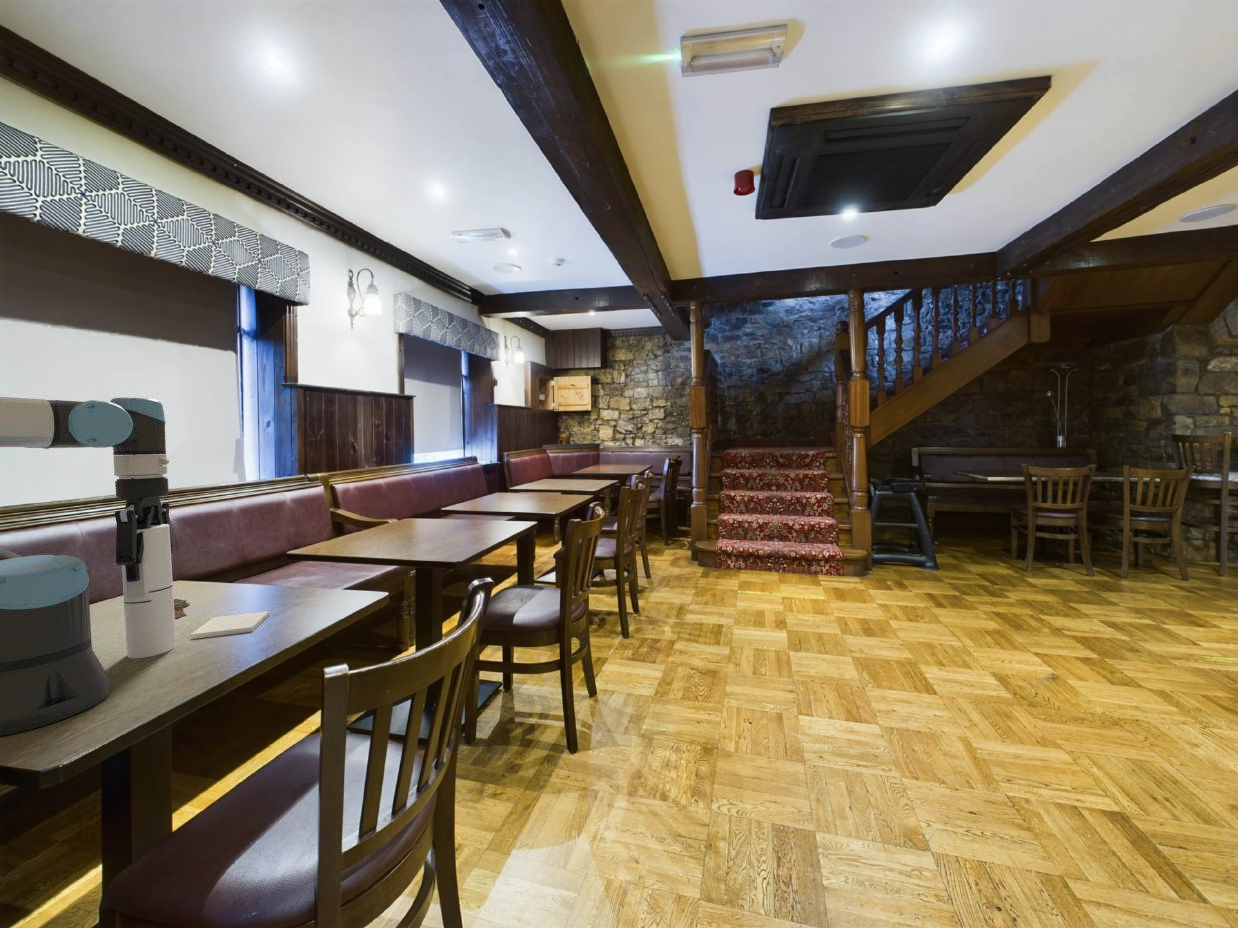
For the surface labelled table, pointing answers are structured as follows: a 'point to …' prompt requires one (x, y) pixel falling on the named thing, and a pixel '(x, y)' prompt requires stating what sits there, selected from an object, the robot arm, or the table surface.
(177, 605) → the brown relief tablet
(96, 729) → the table surface
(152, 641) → the cylindrical container
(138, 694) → the table surface
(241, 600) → the table surface
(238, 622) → the ceramic tile
